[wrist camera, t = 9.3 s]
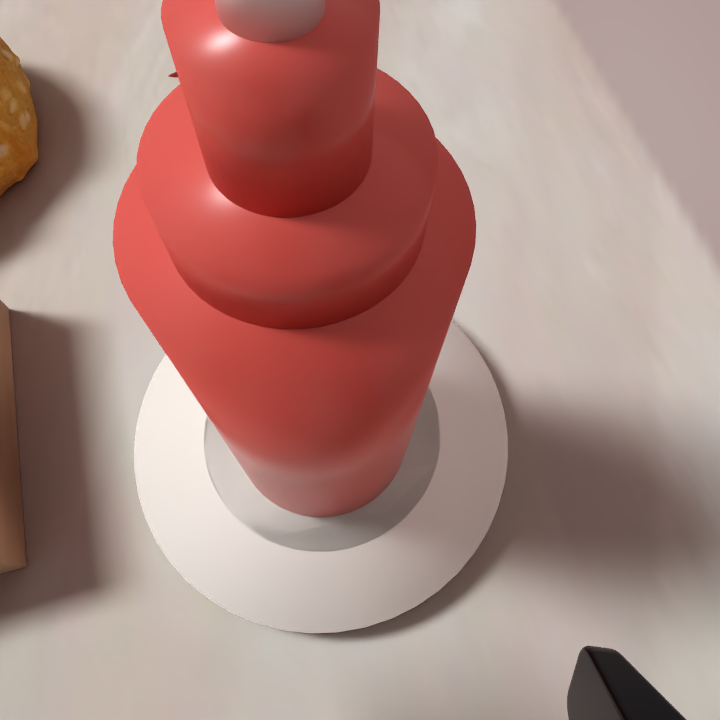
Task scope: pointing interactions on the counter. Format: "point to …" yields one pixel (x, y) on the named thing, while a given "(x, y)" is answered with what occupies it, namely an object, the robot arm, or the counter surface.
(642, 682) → the robot arm
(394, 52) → the counter surface
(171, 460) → the saucer
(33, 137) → the bagel
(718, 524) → the counter surface
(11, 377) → the tray
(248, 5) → the ketchup bottle
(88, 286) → the counter surface
